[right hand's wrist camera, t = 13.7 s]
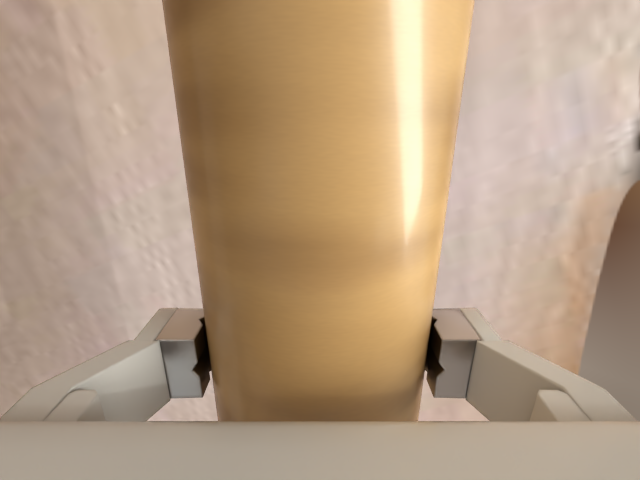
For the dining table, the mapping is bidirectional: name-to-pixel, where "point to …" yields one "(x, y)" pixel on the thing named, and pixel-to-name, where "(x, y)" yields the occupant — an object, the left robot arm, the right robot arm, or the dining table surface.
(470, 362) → the right robot arm
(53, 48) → the dining table surface
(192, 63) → the rod
